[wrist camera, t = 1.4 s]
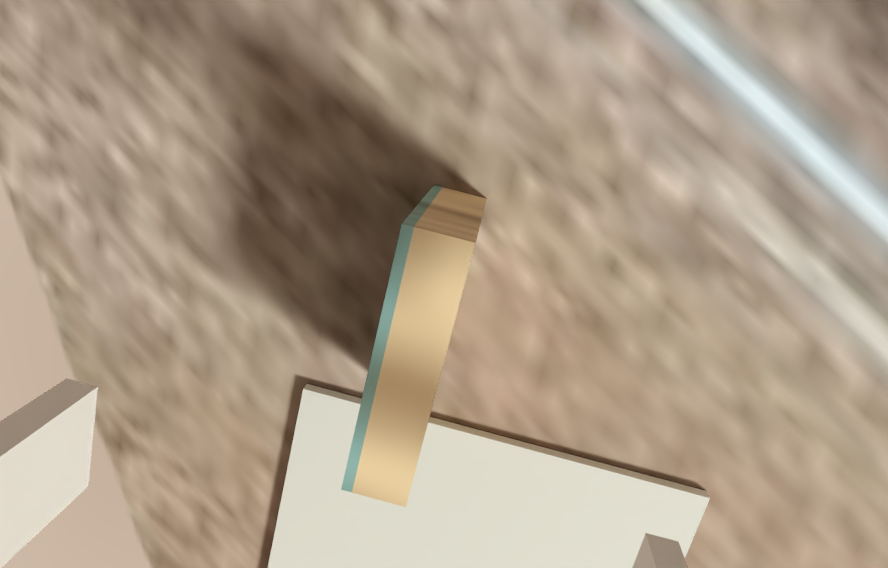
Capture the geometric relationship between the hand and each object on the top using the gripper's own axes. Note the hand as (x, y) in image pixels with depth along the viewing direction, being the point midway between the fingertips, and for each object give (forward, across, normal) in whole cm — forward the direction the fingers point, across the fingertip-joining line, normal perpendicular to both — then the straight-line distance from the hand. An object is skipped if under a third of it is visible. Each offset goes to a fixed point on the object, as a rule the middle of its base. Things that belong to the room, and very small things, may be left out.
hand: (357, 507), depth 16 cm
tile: (+16, 0, 0) cm, 16 cm away
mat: (+16, +5, -14) cm, 22 cm away
